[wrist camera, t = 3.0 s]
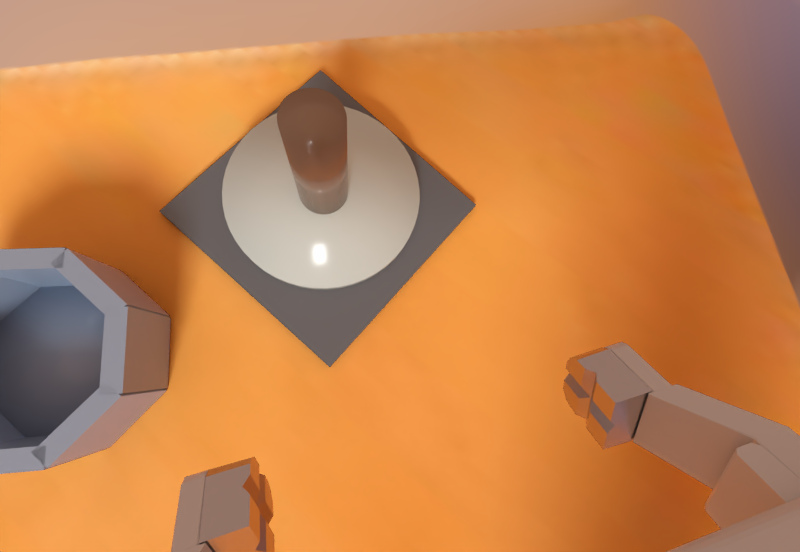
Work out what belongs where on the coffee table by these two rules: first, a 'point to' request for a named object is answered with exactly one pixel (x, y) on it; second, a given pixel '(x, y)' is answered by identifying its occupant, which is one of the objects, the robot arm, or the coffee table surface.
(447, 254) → the coffee table surface
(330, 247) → the lid
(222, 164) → the mat
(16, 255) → the bowl
